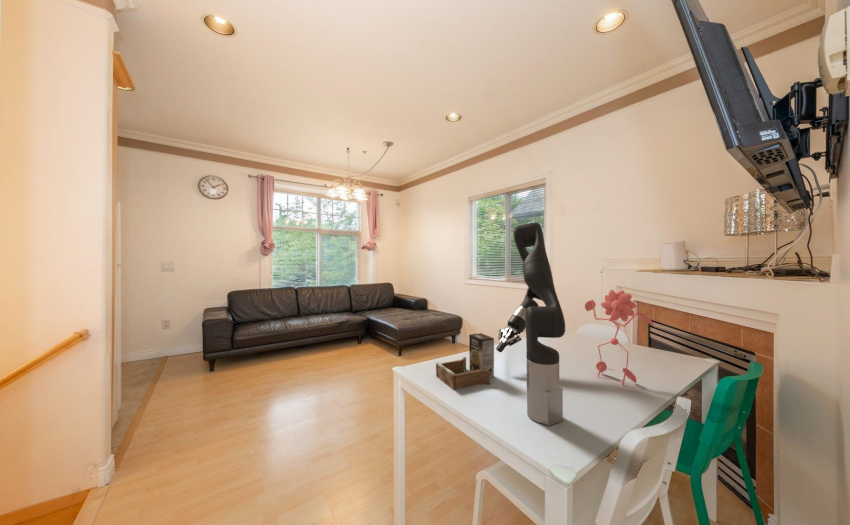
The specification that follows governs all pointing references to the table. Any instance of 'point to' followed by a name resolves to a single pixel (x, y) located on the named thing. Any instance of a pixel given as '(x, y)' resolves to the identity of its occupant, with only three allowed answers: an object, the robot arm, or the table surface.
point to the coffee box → (481, 353)
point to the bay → (463, 379)
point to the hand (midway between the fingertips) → (498, 350)
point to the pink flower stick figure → (617, 308)
